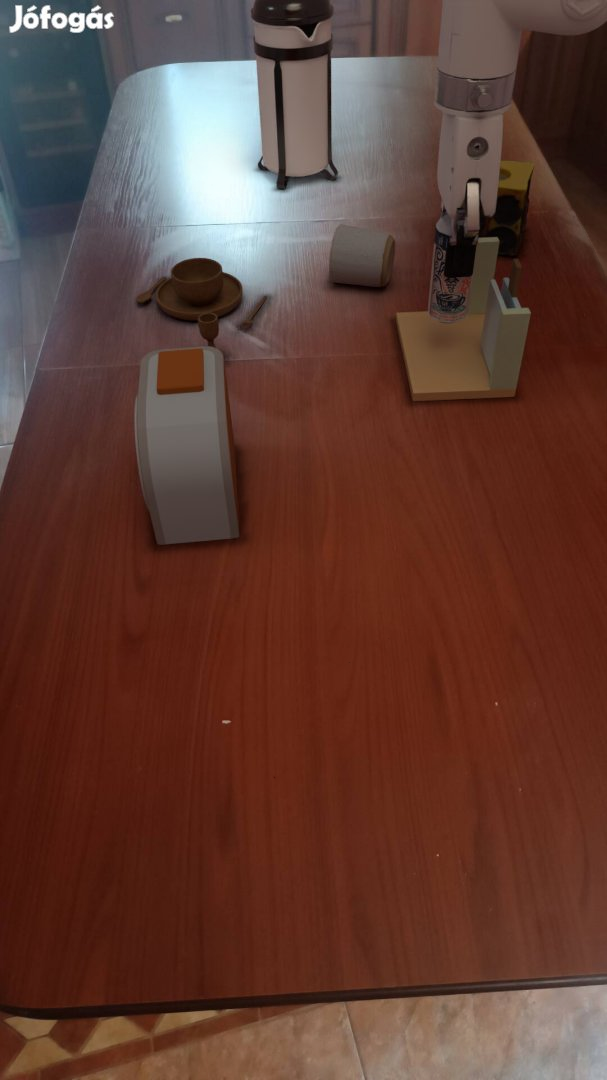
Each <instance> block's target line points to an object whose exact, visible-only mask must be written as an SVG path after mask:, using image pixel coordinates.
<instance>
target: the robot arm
mask: <svg viewBox="0 0 607 1080" xmlns="http://www.w3.org/2000/svg"><path fill="white" fill-rule="evenodd" d="M440 15H441V17H440V26H439V27H440V28H439V29H440V30H439V42H438V53H437V54H438V55H437V66H436V76H435V89H434V101H433V105H434V108H436V110H438V111H440V112H441V113H442V115H441V117H442V119H441V126H440V134H439V143H438V155H437V171H436V178H437V179H436V181H437V188H438V192H439V195H440V198H441V203H440V216H441V215H442V214H443V213H444V212H446V211H447V213H448V215H449V216H450V217H451V231H450V241H447V245H446V254H445V263H444V276H445V277H446V278H453V277H470V276H472V275H473V270H474V262H475V255H476V247H477V239H478V232H479V212H480V206H481V208H482V210H483V213H484V215H485V216H487V217H492V216H493V215H494V213H495V210H496V201H497V192H498V182H499V173H500V163H501V160H502V153H503V152H502V151H503V150H502V149H503V136H504V134H503V132H504V114H505V113H506V112H508V111H509V110H510V109H511V107H512V101H513V95H514V94H513V93H514V89H515V82H516V81H515V80H516V75H517V66H518V61H519V55H520V54H519V53H520V47H521V40H522V34H523V31H531V32H538V33H544V34H550V35H558V36H579V35H585V34H587V33H590V32H592V31H594V30H596V29H598V28H600V27H601V26H603V25H604V24H605V23H606V22H607V0H442V5H441V14H440ZM457 210H465V212H463V213H458V212H457ZM458 220H465V223H464V226H460V227H459V229H458ZM457 229H458V231H457Z"/></svg>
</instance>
